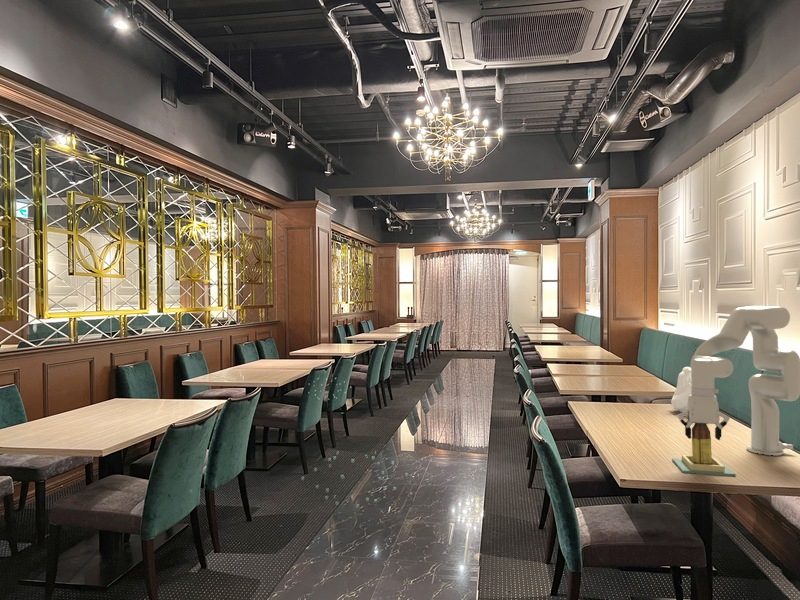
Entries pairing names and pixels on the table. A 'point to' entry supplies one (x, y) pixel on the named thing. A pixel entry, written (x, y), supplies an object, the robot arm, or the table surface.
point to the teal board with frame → (702, 467)
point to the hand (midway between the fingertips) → (703, 438)
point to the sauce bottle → (701, 444)
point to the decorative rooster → (682, 390)
